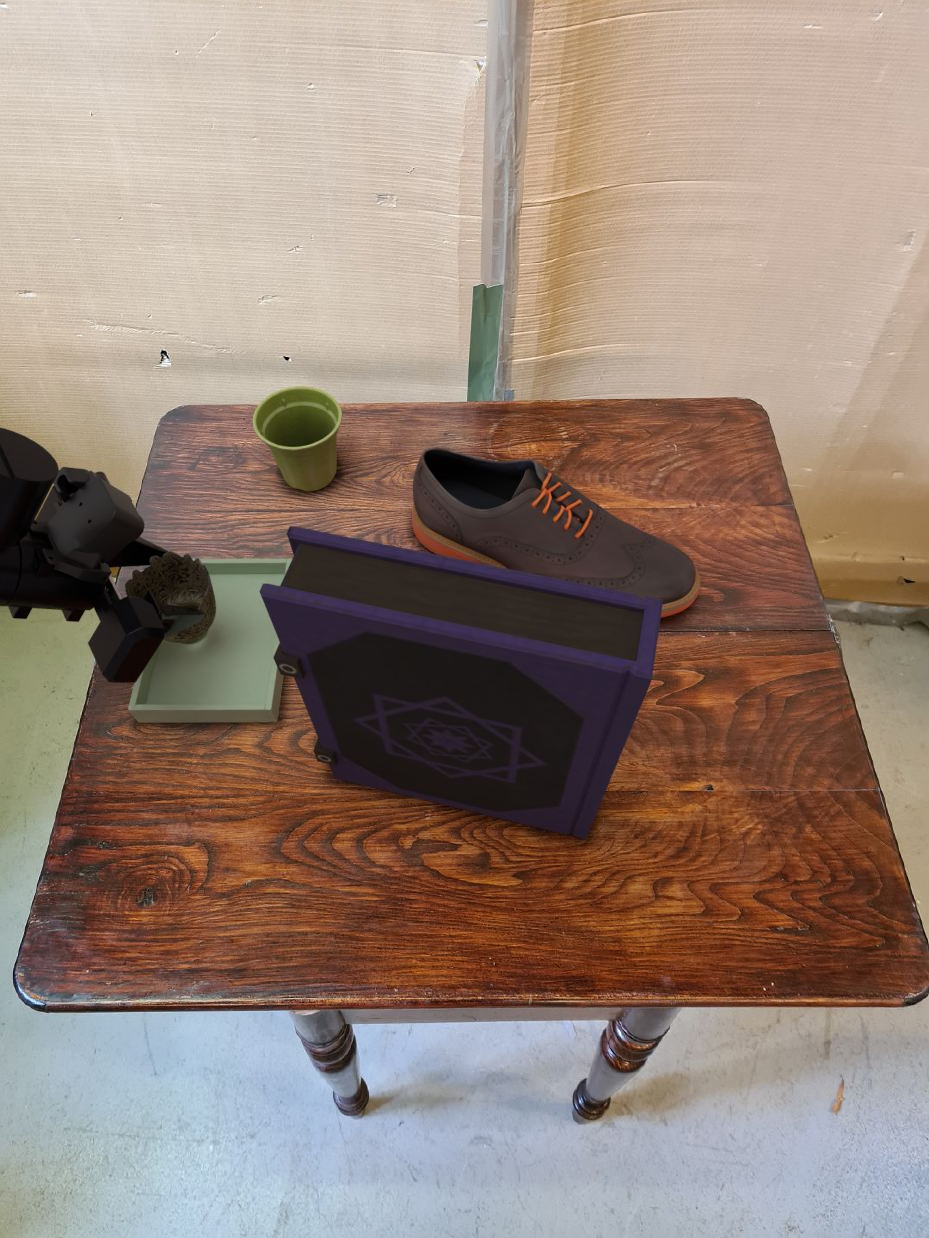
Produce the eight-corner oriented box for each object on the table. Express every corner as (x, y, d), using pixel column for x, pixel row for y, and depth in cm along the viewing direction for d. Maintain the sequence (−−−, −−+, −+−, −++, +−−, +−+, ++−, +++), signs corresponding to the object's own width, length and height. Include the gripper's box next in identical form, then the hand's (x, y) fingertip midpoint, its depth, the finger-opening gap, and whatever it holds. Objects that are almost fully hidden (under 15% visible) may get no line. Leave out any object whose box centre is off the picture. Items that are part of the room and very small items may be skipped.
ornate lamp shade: (184, 679, 74) (156, 634, 68) (137, 633, 77) (107, 586, 70) (246, 629, 77) (226, 582, 71) (199, 587, 80) (176, 538, 73)
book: (596, 777, 72) (664, 592, 46) (584, 845, 69) (651, 684, 43) (348, 720, 75) (286, 517, 50) (326, 781, 72) (247, 598, 46)
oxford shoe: (680, 652, 79) (709, 588, 69) (391, 563, 85) (380, 493, 75) (702, 567, 84) (732, 496, 75) (430, 489, 90) (425, 415, 81)
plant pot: (330, 432, 95) (318, 374, 88) (365, 483, 91) (356, 427, 83) (257, 461, 93) (239, 405, 85) (289, 515, 88) (273, 461, 81)
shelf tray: (138, 722, 75) (127, 710, 73) (173, 574, 84) (164, 558, 82) (277, 722, 75) (271, 709, 73) (297, 573, 84) (292, 558, 82)
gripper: (89, 575, 52) (275, 594, 65) (8, 408, 61) (186, 453, 73) (25, 688, 57) (210, 686, 69) (-43, 518, 65) (134, 543, 77)
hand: (185, 586), depth 72 cm, fingers closed on ornate lamp shade, 7 cm apart
